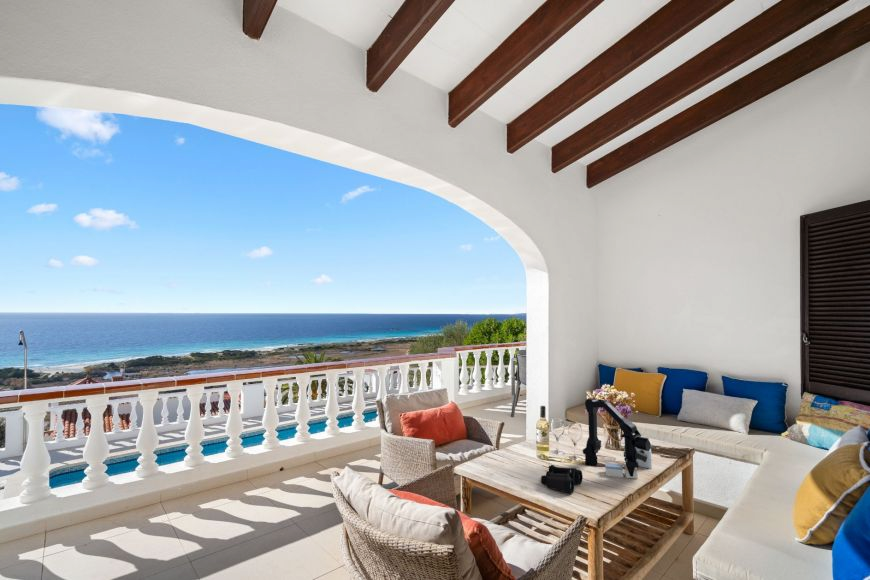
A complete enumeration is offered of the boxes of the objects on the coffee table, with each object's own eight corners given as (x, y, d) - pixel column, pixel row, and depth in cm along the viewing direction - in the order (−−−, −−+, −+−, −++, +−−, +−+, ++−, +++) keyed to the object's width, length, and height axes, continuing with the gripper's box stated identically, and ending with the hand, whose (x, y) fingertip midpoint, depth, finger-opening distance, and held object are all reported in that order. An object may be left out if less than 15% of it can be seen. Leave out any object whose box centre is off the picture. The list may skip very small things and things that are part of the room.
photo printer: (653, 467, 242) (652, 446, 243) (650, 469, 239) (649, 448, 240) (635, 463, 250) (634, 442, 250) (632, 464, 247) (631, 444, 247)
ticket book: (605, 475, 231) (605, 466, 232) (605, 471, 237) (605, 462, 237) (624, 477, 228) (624, 468, 228) (624, 473, 234) (623, 464, 234)
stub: (625, 477, 228) (625, 468, 228) (625, 474, 233) (624, 464, 233) (637, 478, 226) (637, 469, 226) (636, 475, 231) (636, 466, 231)
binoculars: (570, 497, 205) (569, 476, 206) (536, 487, 217) (535, 468, 218) (585, 482, 222) (585, 464, 223) (553, 474, 234) (552, 456, 235)
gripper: (648, 453, 219) (649, 483, 218) (644, 442, 236) (645, 470, 235) (625, 451, 223) (626, 480, 222) (623, 440, 240) (624, 468, 239)
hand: (631, 474), depth 230 cm, fingers closed on stub, 5 cm apart
